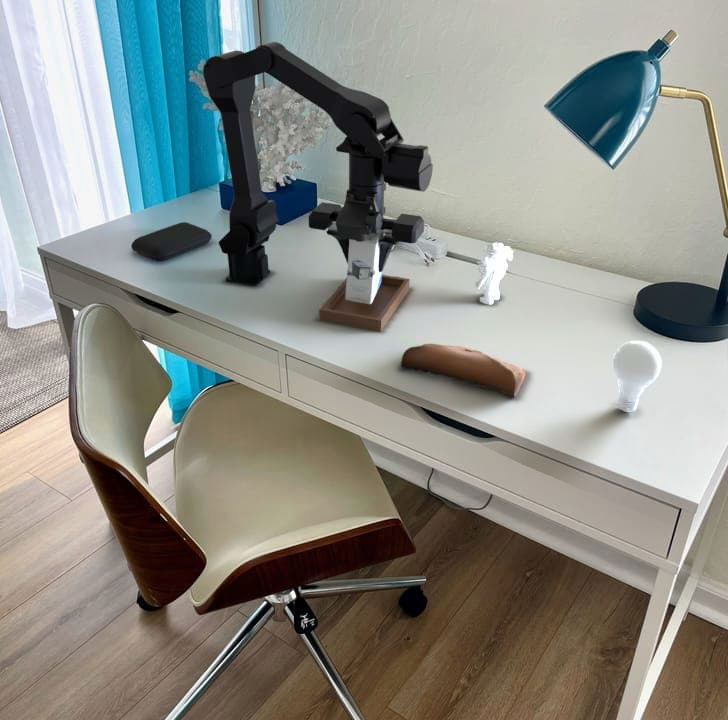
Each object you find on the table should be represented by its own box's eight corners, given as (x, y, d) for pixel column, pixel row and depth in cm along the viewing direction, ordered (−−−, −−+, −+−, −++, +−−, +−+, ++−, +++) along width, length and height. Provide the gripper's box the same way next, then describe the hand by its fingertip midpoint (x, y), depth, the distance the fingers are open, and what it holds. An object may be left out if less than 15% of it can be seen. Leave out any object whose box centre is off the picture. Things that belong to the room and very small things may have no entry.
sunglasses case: (529, 369, 113) (527, 348, 107) (516, 409, 110) (513, 389, 104) (420, 343, 119) (413, 321, 113) (405, 380, 116) (397, 360, 111)
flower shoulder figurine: (485, 311, 130) (492, 248, 123) (467, 304, 132) (472, 242, 125) (512, 294, 135) (520, 232, 129) (494, 287, 138) (501, 227, 131)
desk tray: (319, 320, 126) (319, 309, 125) (353, 280, 139) (353, 269, 138) (381, 331, 123) (381, 320, 122) (409, 289, 136) (409, 279, 135)
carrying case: (183, 230, 158) (124, 251, 148) (181, 216, 156) (122, 237, 147) (216, 243, 153) (158, 266, 143) (215, 229, 151) (155, 251, 141)
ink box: (356, 279, 134) (359, 218, 127) (383, 283, 133) (387, 222, 127) (344, 300, 127) (347, 237, 120) (373, 305, 126) (377, 242, 120)
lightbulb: (603, 393, 109) (617, 329, 103) (648, 401, 107) (665, 336, 101) (601, 418, 104) (616, 351, 98) (648, 427, 102) (666, 360, 96)
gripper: (293, 189, 115) (297, 279, 123) (407, 205, 110) (403, 298, 119) (320, 168, 124) (322, 253, 132) (427, 182, 119) (422, 270, 128)
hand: (365, 268), depth 127 cm, fingers closed on ink box, 5 cm apart
